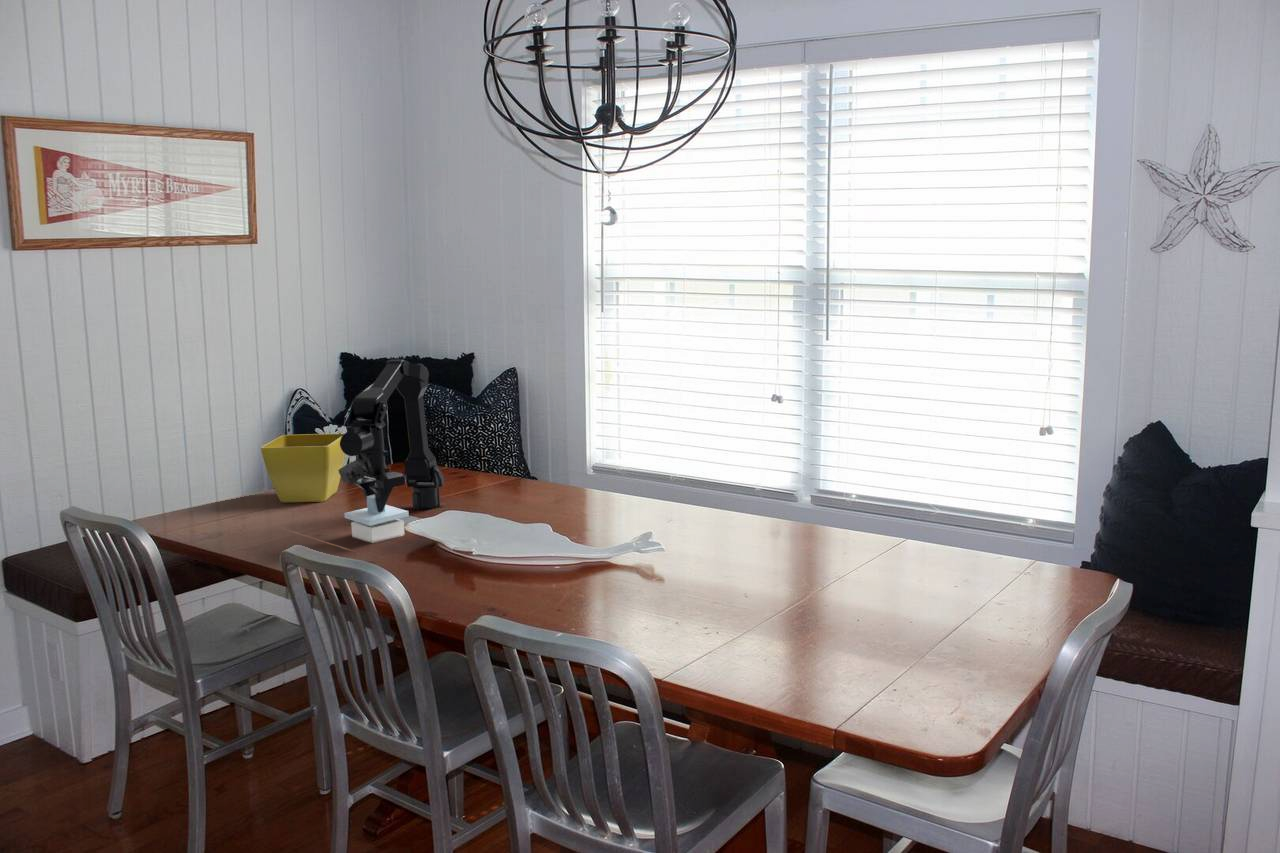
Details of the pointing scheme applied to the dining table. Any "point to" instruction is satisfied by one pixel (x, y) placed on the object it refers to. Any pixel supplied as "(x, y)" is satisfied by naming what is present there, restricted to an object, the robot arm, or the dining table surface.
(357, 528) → the white open box
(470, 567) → the dining table surface
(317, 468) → the flower pot
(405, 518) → the mat
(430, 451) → the robot arm
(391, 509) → the lid
